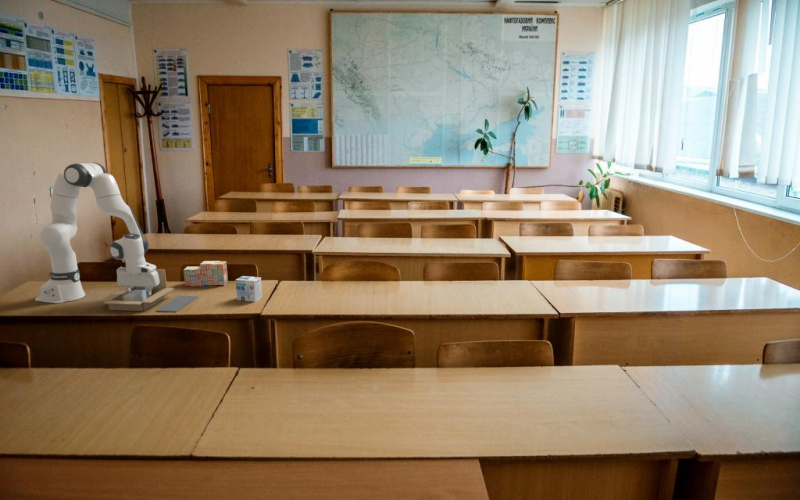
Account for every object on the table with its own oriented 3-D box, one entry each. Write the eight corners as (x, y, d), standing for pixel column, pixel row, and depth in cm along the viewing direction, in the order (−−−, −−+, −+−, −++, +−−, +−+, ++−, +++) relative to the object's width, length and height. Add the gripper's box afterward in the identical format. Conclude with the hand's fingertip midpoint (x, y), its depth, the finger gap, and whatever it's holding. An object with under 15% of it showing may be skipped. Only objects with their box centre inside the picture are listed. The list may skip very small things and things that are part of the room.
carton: (97, 311, 278) (93, 282, 274) (128, 294, 302) (124, 268, 298) (148, 313, 274) (144, 284, 271) (175, 296, 298) (172, 269, 295)
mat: (155, 311, 277) (155, 310, 276) (179, 296, 298) (179, 295, 298) (176, 312, 275) (176, 311, 275) (198, 297, 296) (198, 296, 296)
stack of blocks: (184, 286, 315) (182, 264, 312) (189, 282, 321) (186, 260, 318) (224, 286, 314) (222, 263, 311) (228, 282, 320) (226, 260, 318)
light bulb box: (236, 300, 291) (234, 279, 289) (244, 296, 297) (242, 275, 295) (255, 302, 288) (254, 281, 286) (262, 298, 294) (261, 277, 292)
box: (125, 307, 282) (123, 291, 280) (142, 297, 297) (141, 282, 295) (135, 308, 282) (133, 292, 280) (152, 298, 296) (150, 282, 294)
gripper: (112, 269, 284) (116, 296, 287) (152, 269, 281) (156, 297, 285) (119, 265, 290) (123, 292, 294) (159, 265, 288) (162, 293, 291)
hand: (140, 294), depth 289 cm, fingers open, 8 cm apart
